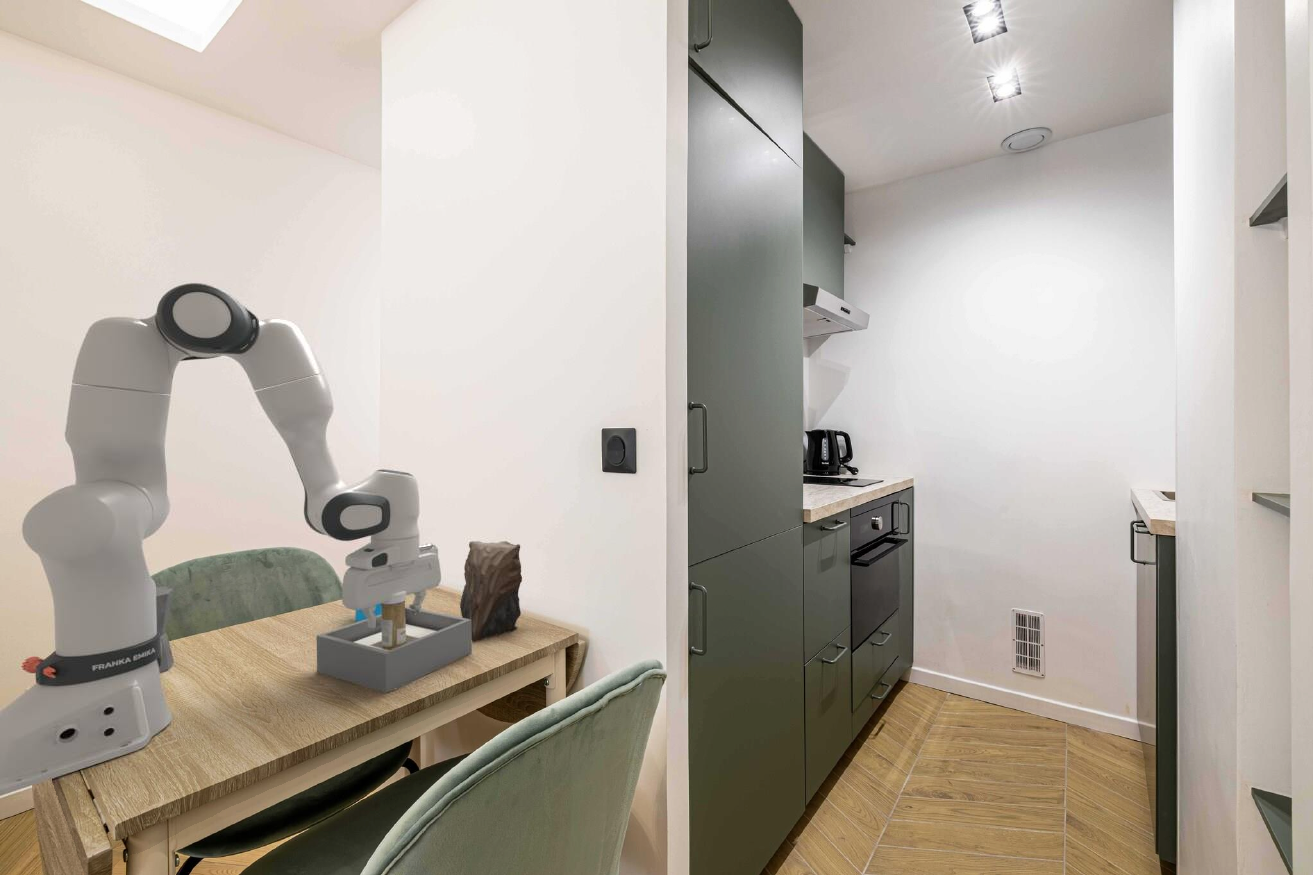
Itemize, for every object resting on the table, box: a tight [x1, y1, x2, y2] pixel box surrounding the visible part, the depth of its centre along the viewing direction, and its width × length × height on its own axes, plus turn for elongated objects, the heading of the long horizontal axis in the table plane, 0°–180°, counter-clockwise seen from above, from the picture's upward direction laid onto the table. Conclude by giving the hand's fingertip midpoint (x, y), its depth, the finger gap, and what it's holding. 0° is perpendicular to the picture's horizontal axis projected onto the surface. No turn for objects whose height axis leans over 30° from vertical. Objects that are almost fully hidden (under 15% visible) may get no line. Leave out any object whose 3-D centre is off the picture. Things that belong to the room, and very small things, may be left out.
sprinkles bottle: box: [381, 591, 407, 650], centre depth 111 cm, size 5×5×13 cm
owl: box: [459, 540, 523, 642], centre depth 130 cm, size 13×13×20 cm
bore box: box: [316, 605, 473, 694], centre depth 112 cm, size 20×20×7 cm
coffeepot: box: [156, 586, 175, 674], centre depth 107 cm, size 15×9×18 cm, turn 6°
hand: (395, 619), depth 111 cm, fingers open, 8 cm apart
